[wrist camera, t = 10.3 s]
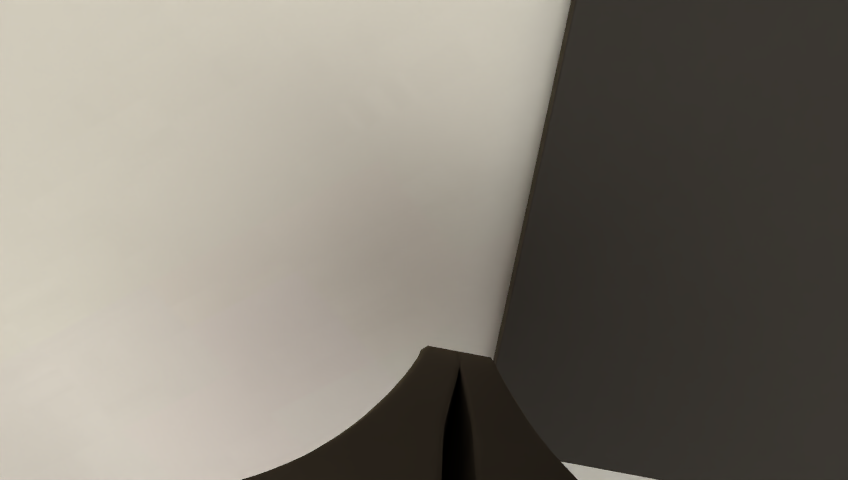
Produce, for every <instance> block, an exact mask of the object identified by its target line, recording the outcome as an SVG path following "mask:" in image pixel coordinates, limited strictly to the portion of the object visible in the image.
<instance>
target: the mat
mask: <svg viewBox="0 0 848 480" xmlns="http://www.w3.org/2000/svg"><path fill="white" fill-rule="evenodd" d="M493 362H494V363H495V365H496V367H497V369H498V371H499V373H500V375H501V376H502V378H503V380H504V382H505V384H506V385H507V387H508V389H509V391H510V392H511V394H512V396H513V398H514V399H515V401H516V402H517V404H518V406H519V407H520V409H521V410H522V412H523V413H524V415H525V416H526V418H527V419H528V421H529V423H530V424H531V425H532V427H533V428H534V430H535V431H536V432H537V434H538V435H539V436H540V438H541V439H542V440H543V441H544V443H545V444H546V445H547V447H548V448H549V449H550V450H551V451H552V453H553V454H554V455H555V456H556V457H557V458H558V460H559V461H561V462H567V463H572V464H578V465H583V466H588V467H594V468H599V469H604V470H610V471H615V472H621V473H626V474H631V475H637V476H642V477H647V478H653V479H658V480H848V0H571V5H570V9H569V14H568V19H567V23H566V28H565V33H564V37H563V42H562V46H561V51H560V56H559V60H558V65H557V69H556V74H555V79H554V83H553V88H552V92H551V97H550V102H549V106H548V111H547V115H546V120H545V125H544V129H543V134H542V138H541V143H540V148H539V152H538V157H537V162H536V166H535V171H534V175H533V180H532V185H531V189H530V194H529V198H528V203H527V208H526V212H525V217H524V221H523V226H522V231H521V235H520V240H519V244H518V249H517V254H516V258H515V263H514V267H513V272H512V277H511V281H510V286H509V291H508V295H507V300H506V304H505V309H504V314H503V318H502V323H501V327H500V332H499V337H498V341H497V346H496V350H495V355H494V360H493Z"/></svg>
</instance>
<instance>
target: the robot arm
mask: <svg viewBox="0 0 848 480" xmlns="http://www.w3.org/2000/svg"><path fill="white" fill-rule="evenodd" d="M242 480H577V479H576V478H575V477H574V475H573V474H572V473H571V472H570V471H569V470H568V469H567V468H566V467H565V466H564V465H563V464H562V463H561V462H560V461H559V460H558V458H557V457H556V456H555V455H554V454H553V453H552V451H551V450H550V449H549V448H548V447H547V445H546V444H545V443H544V441H543V440H542V439H541V438H540V436H539V435H538V434H537V432H536V431H535V430H534V428H533V427H532V425H531V424H530V423H529V421H528V419H527V418H526V416H525V415H524V413H523V412H522V410H521V409H520V407H519V406H518V404H517V402H516V401H515V399H514V398H513V396H512V394H511V392H510V391H509V389H508V387H507V385H506V384H505V382H504V380H503V378H502V376H501V375H500V373H499V371H498V369H497V367H496V365H495V363H494V362H493V360H492V359H491V358H490V357H485V356H480V355H474V354H469V353H464V352H458V351H453V350H448V349H442V348H437V347H432V346H427V347H425V348H423V349H422V350H421V351H420V354H419V356H418V358H417V359H416V361H415V362H414V364H413V365H412V367H411V368H410V369H409V370H408V372H407V373H406V374H405V376H404V377H403V378H402V379H401V380H400V381H399V382H398V383H397V385H396V386H395V387H394V388H393V389H392V390H391V391H390V392H389V393H388V394H387V395H386V396H385V397H384V398H383V399H382V400H381V401H380V402H379V403H378V404H377V405H376V406H375V407H374V408H373V409H371V410H370V411H369V412H368V413H367V414H366V415H365V416H363V417H362V418H361V419H360V420H359V421H357V422H356V423H355V424H353V425H352V426H351V427H349V428H348V429H347V430H345V431H344V432H342V433H341V434H340V435H338V436H337V437H335V438H333V439H332V440H330V441H329V442H327V443H325V444H324V445H322V446H320V447H319V448H317V449H315V450H314V451H312V452H310V453H308V454H306V455H304V456H302V457H300V458H298V459H296V460H294V461H291V462H289V463H287V464H284V465H282V466H279V467H277V468H274V469H272V470H269V471H267V472H264V473H261V474H258V475H256V476H252V477H249V478H246V479H242Z"/></svg>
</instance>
